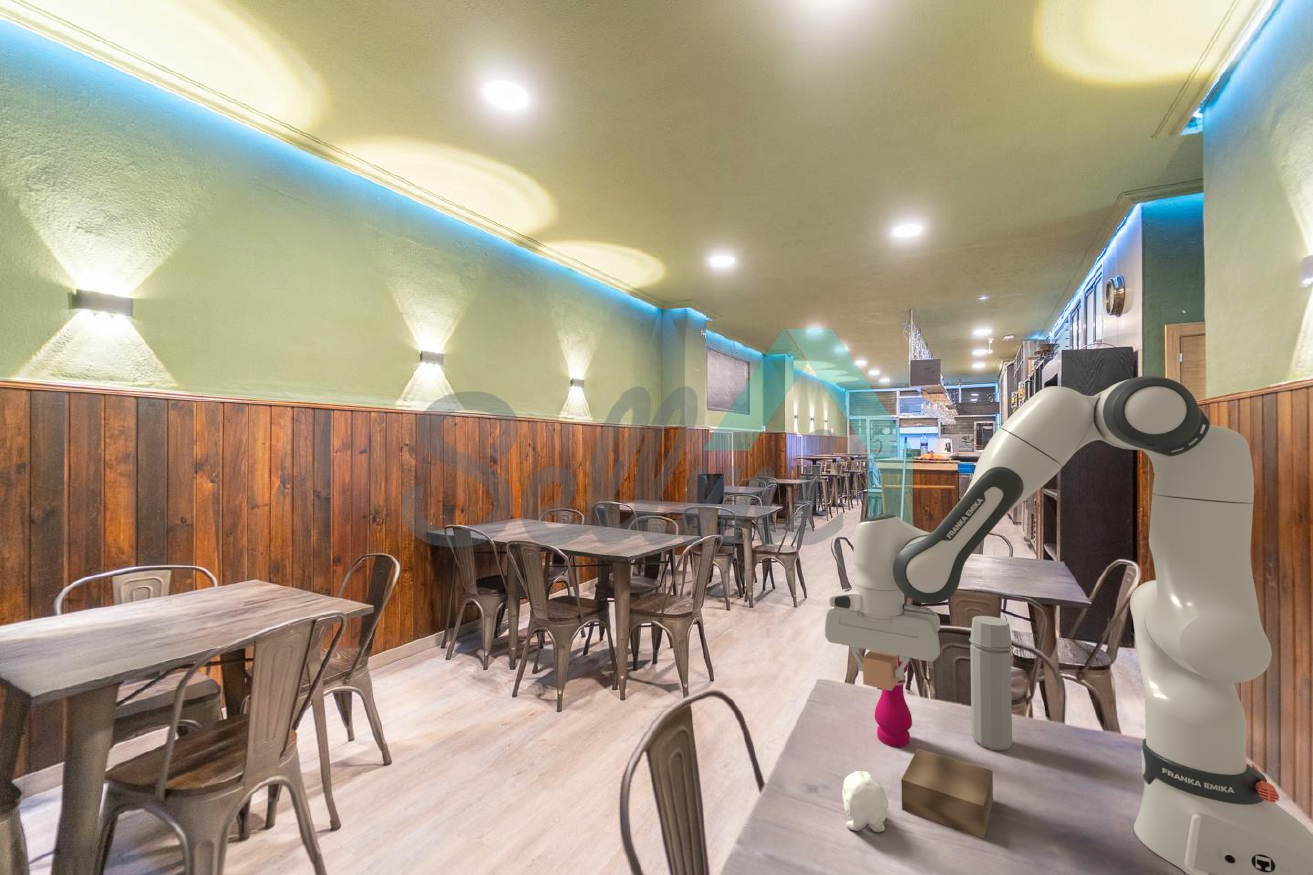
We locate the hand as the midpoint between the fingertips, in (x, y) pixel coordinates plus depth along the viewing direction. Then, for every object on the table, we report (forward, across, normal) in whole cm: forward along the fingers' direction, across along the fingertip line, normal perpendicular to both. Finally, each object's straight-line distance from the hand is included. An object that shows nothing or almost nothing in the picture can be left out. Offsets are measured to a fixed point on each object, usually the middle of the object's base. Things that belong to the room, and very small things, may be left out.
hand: (880, 674), depth 107 cm
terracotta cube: (+2, 0, 0) cm, 2 cm away
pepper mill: (+18, +1, -13) cm, 22 cm away
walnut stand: (+18, -12, +4) cm, 22 cm away
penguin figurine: (+18, -1, +16) cm, 24 cm away
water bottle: (+18, -16, -24) cm, 34 cm away
